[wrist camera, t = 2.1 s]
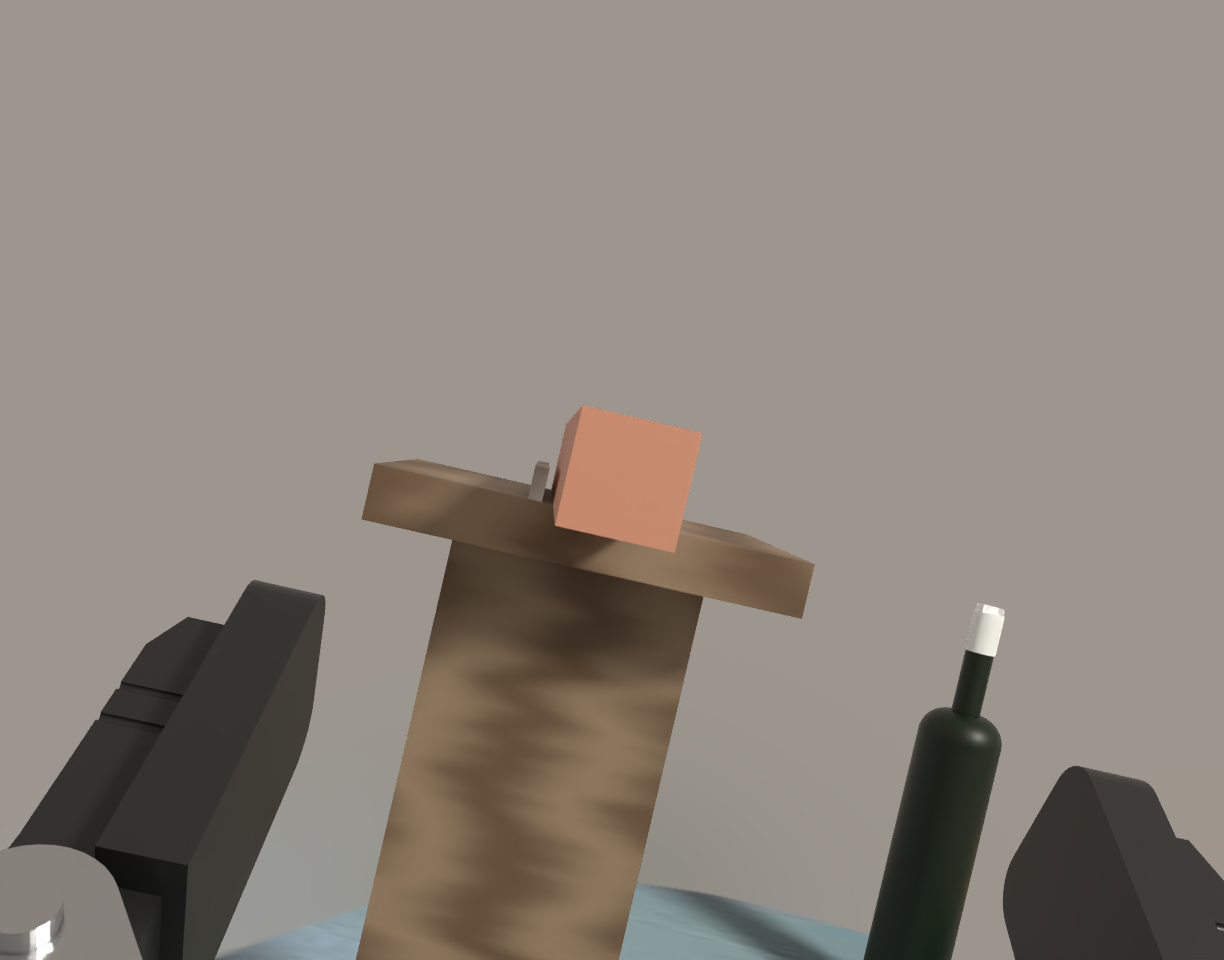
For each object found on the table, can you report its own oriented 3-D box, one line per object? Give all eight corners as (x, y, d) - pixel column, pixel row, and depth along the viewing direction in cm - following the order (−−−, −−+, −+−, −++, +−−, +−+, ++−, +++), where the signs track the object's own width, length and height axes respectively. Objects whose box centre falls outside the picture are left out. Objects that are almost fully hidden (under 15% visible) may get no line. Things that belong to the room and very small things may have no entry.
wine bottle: (908, 1042, 80) (1010, 613, 79) (838, 1001, 84) (935, 593, 83) (949, 1026, 84) (1046, 619, 83) (880, 988, 88) (972, 599, 87)
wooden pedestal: (615, 1172, 57) (769, 513, 57) (641, 1452, 41) (856, 540, 41) (251, 1101, 56) (405, 429, 56) (134, 1361, 40) (348, 423, 40)
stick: (615, 503, 56) (631, 439, 56) (674, 552, 30) (702, 433, 30) (551, 488, 56) (566, 424, 56) (555, 525, 30) (582, 405, 30)
